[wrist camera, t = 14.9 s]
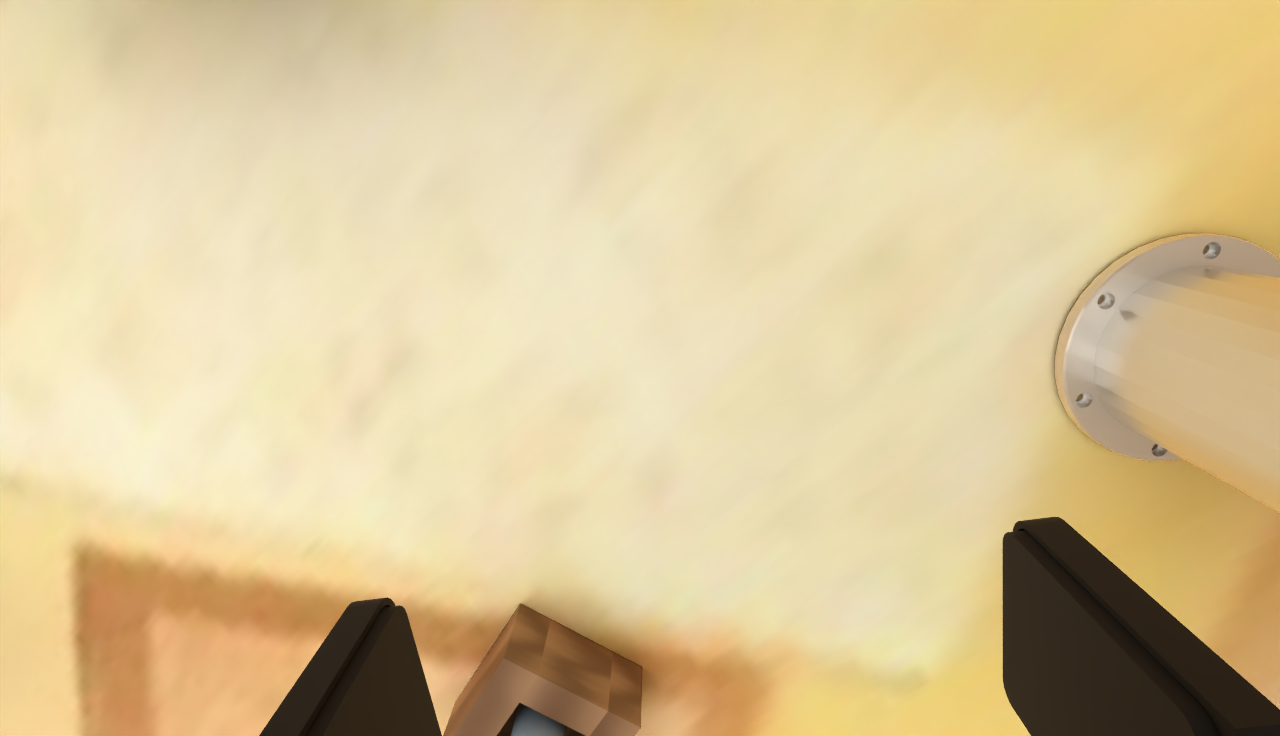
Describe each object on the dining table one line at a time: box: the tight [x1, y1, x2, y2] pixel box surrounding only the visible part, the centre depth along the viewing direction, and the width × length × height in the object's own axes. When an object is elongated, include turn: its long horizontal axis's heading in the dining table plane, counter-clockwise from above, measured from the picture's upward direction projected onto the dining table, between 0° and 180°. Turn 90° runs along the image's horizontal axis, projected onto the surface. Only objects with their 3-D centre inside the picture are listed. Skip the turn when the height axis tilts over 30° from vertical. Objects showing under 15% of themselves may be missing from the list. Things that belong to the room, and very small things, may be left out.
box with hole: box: [443, 604, 642, 736], centre depth 43 cm, size 9×9×5 cm
